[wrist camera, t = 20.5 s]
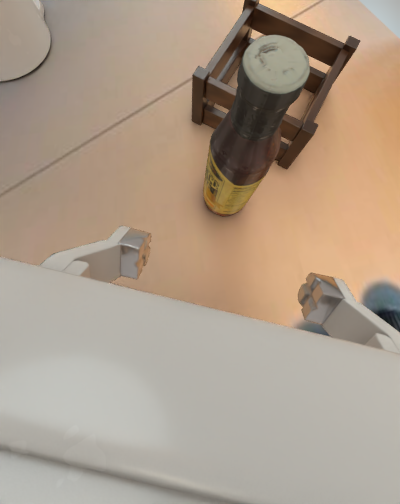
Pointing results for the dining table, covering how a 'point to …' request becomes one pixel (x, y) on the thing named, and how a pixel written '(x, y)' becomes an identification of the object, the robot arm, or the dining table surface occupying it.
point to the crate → (230, 55)
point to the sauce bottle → (253, 122)
